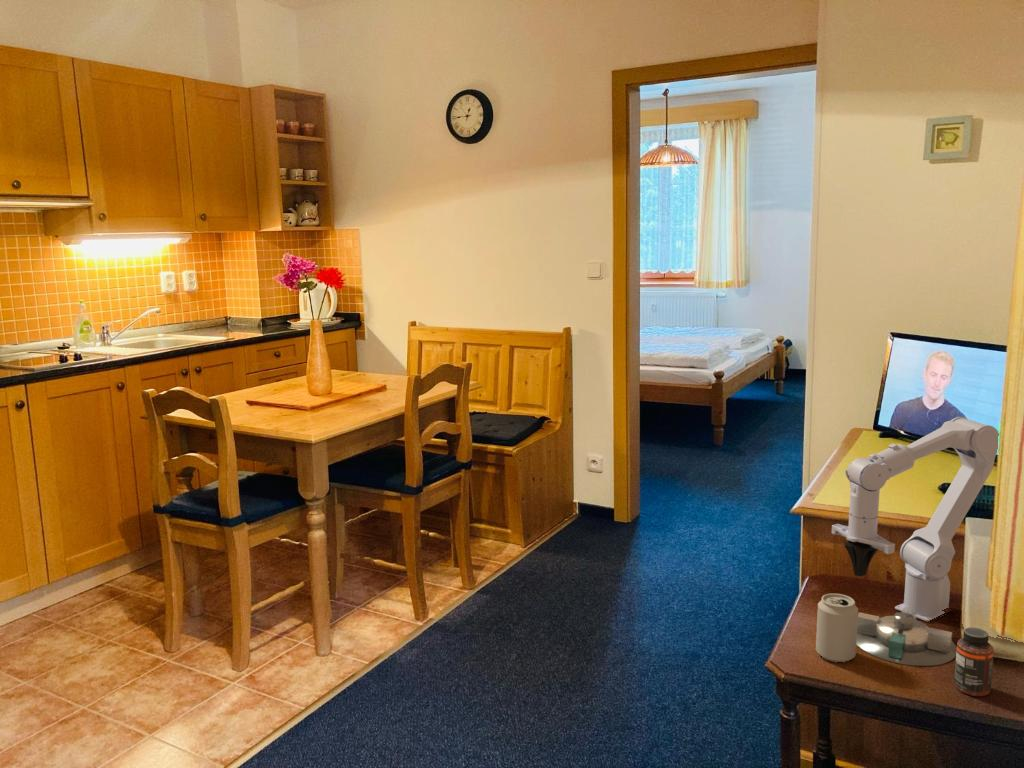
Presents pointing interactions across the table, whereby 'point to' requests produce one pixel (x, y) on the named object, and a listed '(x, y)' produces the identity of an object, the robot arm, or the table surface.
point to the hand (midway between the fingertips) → (860, 574)
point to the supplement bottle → (974, 663)
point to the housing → (909, 658)
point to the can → (836, 628)
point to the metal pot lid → (904, 634)
